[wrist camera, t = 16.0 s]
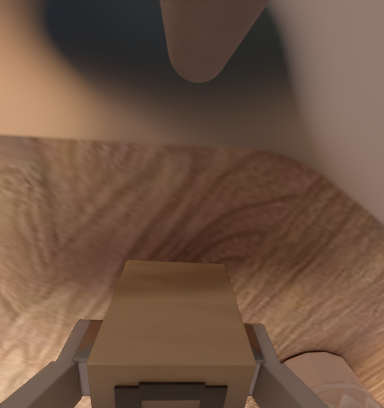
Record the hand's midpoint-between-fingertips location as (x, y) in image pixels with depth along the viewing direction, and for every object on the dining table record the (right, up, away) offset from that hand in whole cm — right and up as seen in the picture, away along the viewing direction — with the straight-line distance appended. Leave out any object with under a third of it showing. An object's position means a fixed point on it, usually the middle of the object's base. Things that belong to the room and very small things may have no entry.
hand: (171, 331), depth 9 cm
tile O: (0, +1, +2) cm, 2 cm away
